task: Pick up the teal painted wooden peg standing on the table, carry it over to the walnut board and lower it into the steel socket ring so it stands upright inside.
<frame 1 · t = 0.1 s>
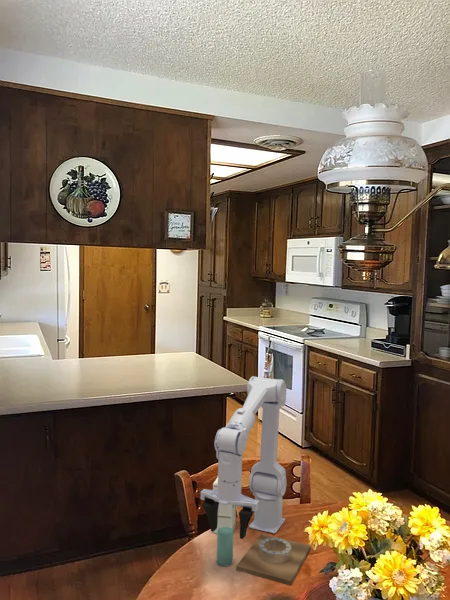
hand: (228, 533, 124), 10 cm above the table, tool pointing down, fingers open, 7 cm apart
peg: (224, 561, 130), on the table
walnut board: (274, 559, 132), on the table
syrup box: (223, 530, 147), on the table
socket ring: (275, 550, 132), on the walnut board, point 2 cm above the table
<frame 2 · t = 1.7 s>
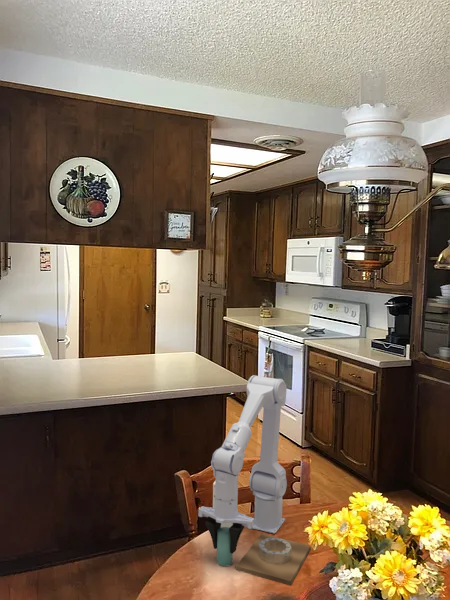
hand: (224, 549, 130), 3 cm above the table, tool pointing down, fingers closed on peg, 4 cm apart
peg: (224, 561, 130), on the table, touching gripper
everything else where it was.
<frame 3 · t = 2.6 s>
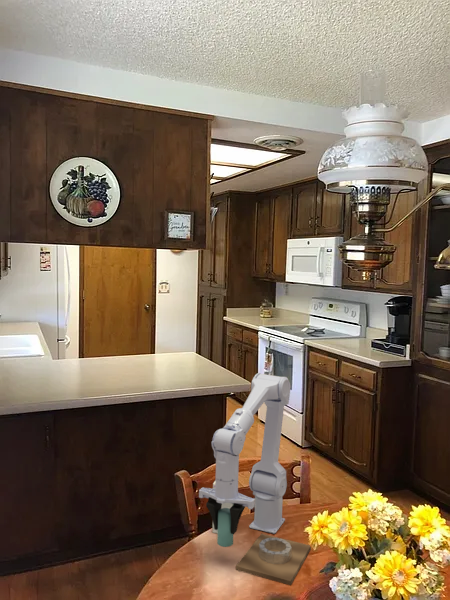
hand: (225, 530, 130), 8 cm above the table, tool pointing down, fingers closed on peg, 4 cm apart
peg: (225, 542, 130), point 5 cm above the table, touching gripper
everything else where it was.
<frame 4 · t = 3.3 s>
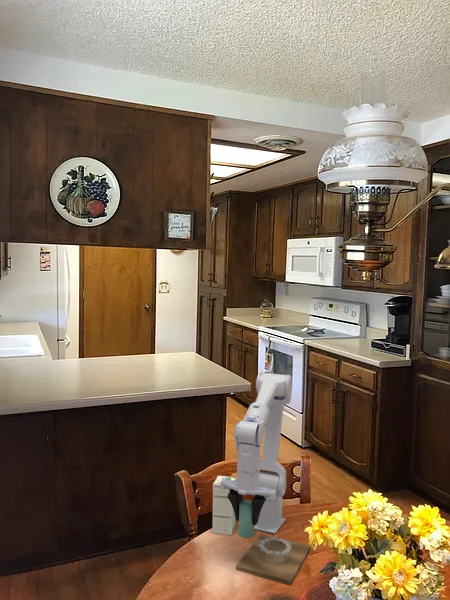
hand: (246, 521, 130), 10 cm above the table, tool pointing down, fingers closed on peg, 4 cm apart
peg: (246, 534, 130), point 7 cm above the table, touching gripper
everything else where it was.
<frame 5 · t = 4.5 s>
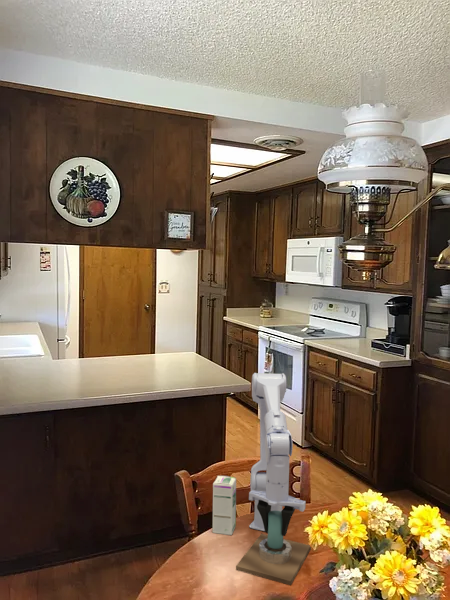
hand: (275, 532, 131), 7 cm above the table, tool pointing down, fingers closed on peg, 4 cm apart
peg: (275, 544, 132), point 4 cm above the table, touching gripper
everything else where it was.
when the fingers open (5 cm above the table, at t = 5.3 s): peg drops 1 cm, resting on walnut board.
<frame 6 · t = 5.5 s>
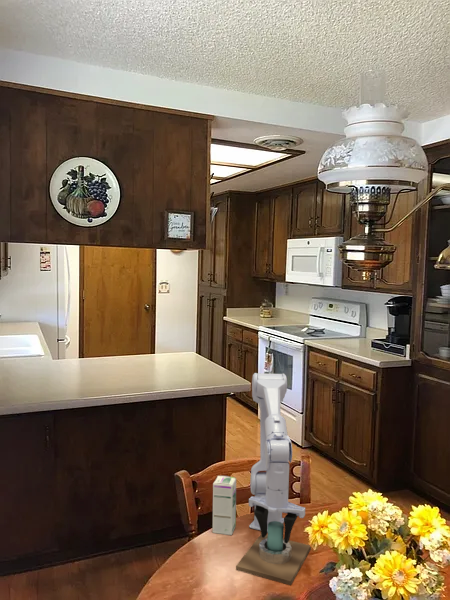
hand: (275, 538, 132), 5 cm above the table, tool pointing down, fingers open, 5 cm apart
peg: (274, 555, 132), point 1 cm above the table, touching walnut board
everything else where it was.
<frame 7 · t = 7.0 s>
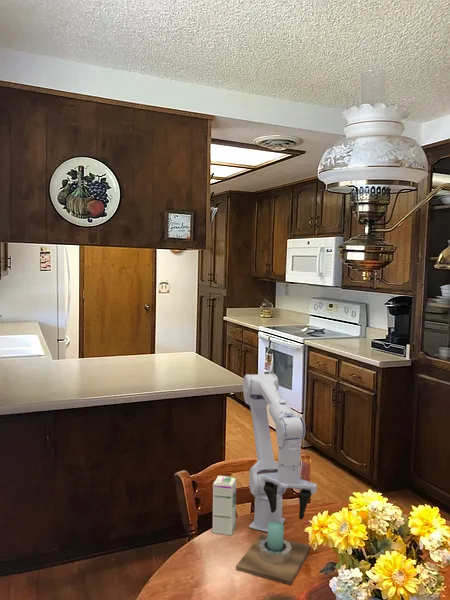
hand: (287, 514, 134), 10 cm above the table, tool pointing down, fingers open, 7 cm apart
nothing on the table moved.
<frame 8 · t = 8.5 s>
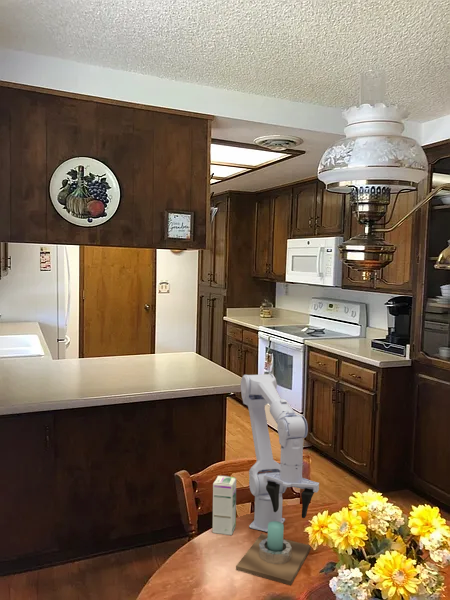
hand: (289, 513, 135), 10 cm above the table, tool pointing down, fingers open, 7 cm apart
nothing on the table moved.
at the end: peg 0.1 cm off-centre on the socket ring, point 1.0 cm above the socket ring's base; peg tilted 1°; the gripper is holding nothing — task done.
